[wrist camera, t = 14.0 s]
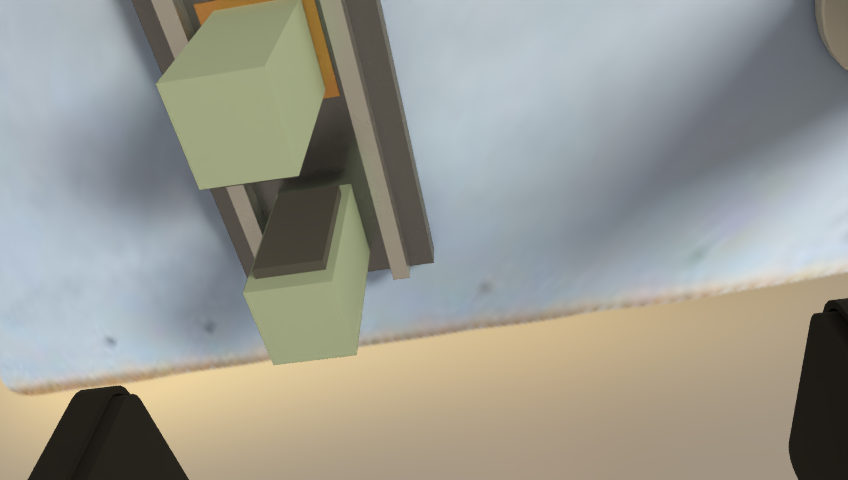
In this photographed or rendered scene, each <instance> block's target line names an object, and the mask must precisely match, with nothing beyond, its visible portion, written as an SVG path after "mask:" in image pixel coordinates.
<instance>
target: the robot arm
mask: <svg viewBox="0 0 848 480" xmlns="http://www.w3.org/2000/svg"><path fill="white" fill-rule="evenodd" d="M815 17H816V21H817V25H818V29H819V33H820V37H821V39H822V40H823V42H824V44H825V46H826V48H827V50H828V52H829V53H830V54H831V56H832V57H833V58H834V59H835V60H836V61H837V62H838V63H839V64H840V65H841V66H842V67H843V68H844V69H846V70H847V71H848V0H815ZM789 454H790V459H791V463H792V466H793V469H794V471H795V473H796V475H797V478H798V480H848V298H846V299H838V300H830V301H828V302H827V303H826V304H825V307H824V310H823V313H816V314H813V316H812V317H811V321H810V326H809V332H808V337H807V343H806V349H805V354H804V360H803V366H802V372H801V377H800V383H799V389H798V394H797V400H796V405H795V411H794V417H793V422H792V428H791V434H790V439H789ZM28 480H189V479H188V477H187V476H186V474H185V473H184V471H183V469H182V468H181V466H180V464H179V462H178V461H177V459H176V457H175V456H174V454H173V453H172V451H171V449H170V448H169V446H168V444H167V443H166V441H165V439H164V438H163V436H162V434H161V433H160V431H159V429H158V428H157V426H156V424H155V423H154V421H153V420H152V418H151V416H150V414H149V413H148V411H147V409H146V408H145V406H144V405H143V403H142V401H141V400H140V398H139V397H138V396H137V395H135V394H130V393H129V392H128V391H127V390H126V388H124V387H122V386H111V387H103V388H94V389H86V390H81V391H79V392H77V393H76V394H75V395H74V397H73V398H72V399H71V401H70V403H69V405H68V407H67V409H66V410H65V412H64V414H63V416H62V418H61V420H60V421H59V423H58V425H57V427H56V429H55V431H54V433H53V434H52V436H51V438H50V440H49V442H48V443H47V446H46V447H45V449H44V451H43V453H42V454H41V456H40V458H39V460H38V462H37V464H36V465H35V467H34V469H33V471H32V473H31V475H30V477H29V479H28Z"/></svg>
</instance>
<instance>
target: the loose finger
mask: <svg viewBox="0 0 848 480" xmlns="http://www.w3.org/2000/svg"><path fill="white" fill-rule="evenodd" d="M156 86H157V88H158V90H159V93H160V95H161V98H162V100H163V103H164V105H165V107H166V110H167V112H168V115H169V117H170V120H171V122H172V124H173V127H174V129H175V132H176V134H177V136H178V139H179V141H180V144H181V146H182V149H183V151H184V153H185V156H186V158H187V161H188V163H189V166H190V168H191V170H192V173H193V175H194V178H195V180H196V182H197V185H198V187H199V190H202V189H209V188H216V187H219V188H223V187H230V186H238V185H245V184H252V183H259V182H266V181H273V180H280V179H287V178H294V177H297V176H299V174H300V171H301V167H302V164H303V161H304V158H305V155H306V151H307V148H308V145H309V142H310V138H311V135H312V132H313V129H314V126H315V122H316V119H317V116H318V113H319V109H320V106H321V103H322V100H323V97H324V93H325V90H326V89H325V85H324V81H323V77H322V74H321V70H320V66H319V62H318V59H317V55H316V51H315V48H314V44H313V40H312V36H311V33H310V29H309V25H308V21H307V18H306V14H305V10H304V6H303V3H302V0H273V1H268V2H262V3H256V4H250V5H244V6H238V7H232V8H227V9H221V10H215V11H213V12H212V13H211V15H210V16H209V17H208V19H207V20H206V21H205V22H204V24H203V25H202V26H201V27H200V29H199V30H198V31H197V32H196V34H195V35H194V36H193V37H192V39H191V40H190V41H189V43H188V44H187V45H186V46H185V48H184V49H183V50H182V51H181V53H180V54H179V55H178V56H177V58H176V59H175V60H174V62H173V63H172V64H171V65H170V67H169V68H168V69H167V70H166V72H165V73H164V74H163V75H162V77H161V78H160V79H159V81H158V82H157V83H156Z"/></svg>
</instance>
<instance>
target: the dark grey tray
mask: <svg viewBox="0 0 848 480" xmlns="http://www.w3.org/2000/svg"><path fill="white" fill-rule="evenodd" d="M268 1H273V0H132V2H133V5H134V7H135V10H136V12H137V14H138V17H139V19H140V22H141V24H142V26H143V29H144V31H145V34H146V36H147V38H148V41H149V43H150V46H151V48H152V50H153V53H154V55H155V58H156V60H157V62H158V65H159V67H160V70H161V72H162V74H164V73H165V72H166V70H167V69H168V68H169V67H170V65H171V64H172V63H173V62H174V60H175V59H176V58H177V56H178V55H179V54H180V53H181V51H182V50H183V49H184V48H185V46H186V45H187V44H188V43H189V41H190V40H191V39H192V37H193V36H194V35H195V34H196V32H197V31H198V30H199V29H200V27H201V26H202V25H203V24H204V22H205V21H206V20H207V19H208V17H209V16H210V15H211V13H212V12H213V11H215V10H221V9H227V8H232V7H238V6H244V5H250V4H256V3H262V2H268ZM302 3H303V6H304V10H305V14H306V18H307V21H308V25H309V29H310V33H311V36H312V40H313V44H314V48H315V51H316V55H317V59H318V62H319V66H320V70H321V74H322V77H323V81H324V85H325V89H326V90H325V93H324V97H323V100H322V103H321V106H320V109H319V113H318V116H317V119H316V122H315V126H314V129H313V132H312V135H311V138H310V142H309V145H308V148H307V151H306V155H305V158H304V161H303V164H302V167H301V171H300V174H299V176H297V177H294V178H287V179H280V180H273V181H266V182H259V183H252V184H245V185H238V186H230V187H223V188H219V187H216V188H210V190H211V192H212V194H213V197H214V199H215V202H216V204H217V206H218V209H219V211H220V214H221V216H222V218H223V221H224V223H225V226H226V228H227V230H228V233H229V235H230V238H231V240H232V242H233V245H234V247H235V250H236V252H237V254H238V257H239V259H240V262H241V264H242V266H243V269H244V271H245V274H246V276H247V278H248V277H249V274H250V271H251V268H252V265H253V262H254V259H255V257H256V254H257V251H258V248H259V245H260V242H261V239H262V236H263V233H264V231H265V228H266V225H267V222H268V219H269V216H270V213H271V210H272V207H273V204H274V202H275V199H276V196H277V195H278V194H283V193H290V192H296V191H303V190H310V189H317V188H323V187H330V186H337V185H346V184H351V186H352V189H353V193H354V196H355V200H356V203H357V207H358V210H359V214H360V218H361V221H362V225H363V228H364V232H365V235H366V239H367V242H368V246H369V250H370V256H369V264H368V271H375V270H382V269H390V268H391V271H392V275H393V279H394V280H396V279H403V278H410V266H412V265H420V264H427V263H434V247H433V242H432V238H431V233H430V229H429V224H428V219H427V215H426V210H425V205H424V201H423V196H422V192H421V187H420V182H419V178H418V173H417V168H416V164H415V159H414V155H413V150H412V145H411V141H410V136H409V131H408V127H407V122H406V118H405V113H404V108H403V104H402V99H401V94H400V90H399V85H398V81H397V76H396V71H395V67H394V62H393V57H392V53H391V48H390V44H389V39H388V34H387V30H386V25H385V20H384V16H383V11H382V6H381V2H380V0H302Z"/></svg>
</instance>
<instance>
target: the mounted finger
mask: <svg viewBox="0 0 848 480" xmlns="http://www.w3.org/2000/svg"><path fill="white" fill-rule="evenodd" d="M369 256H370V250H369V246H368V242H367V239H366V235H365V232H364V228H363V225H362V221H361V218H360V214H359V210H358V207H357V203H356V200H355V196H354V193H353V189H352V186H351V184H346V185H337V186H330V187H323V188H317V189H310V190H303V191H296V192H290V193H283V194H278V195H277V196H276V199H275V202H274V204H273V207H272V210H271V213H270V216H269V219H268V222H267V225H266V228H265V231H264V233H263V236H262V239H261V242H260V245H259V248H258V251H257V254H256V257H255V259H254V262H253V265H252V268H251V271H250V274H249V277H248V280H247V283H246V286H245V288H244V291H243V295H244V297H245V299H246V302H247V304H248V306H249V309H250V311H251V313H252V316H253V318H254V320H255V323H256V325H257V327H258V330H259V332H260V334H261V337H262V339H263V341H264V344H265V346H266V348H267V351H268V353H269V355H270V358H271V360H272V362H273V365H278V364H286V363H294V362H303V361H312V360H320V359H328V358H337V357H345V356H353V355H356V354H357V348H358V340H359V333H360V325H361V318H362V310H363V302H364V295H365V287H366V279H367V272H368V264H369Z"/></svg>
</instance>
